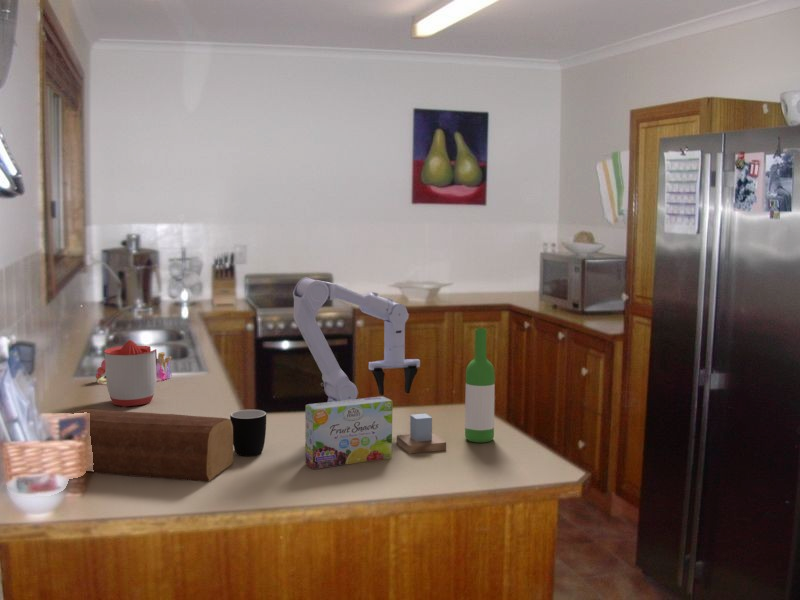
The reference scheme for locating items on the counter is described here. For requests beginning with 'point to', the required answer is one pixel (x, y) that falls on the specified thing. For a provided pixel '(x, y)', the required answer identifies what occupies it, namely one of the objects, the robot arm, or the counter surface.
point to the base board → (421, 444)
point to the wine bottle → (479, 393)
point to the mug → (248, 431)
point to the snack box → (348, 431)
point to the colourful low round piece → (161, 370)
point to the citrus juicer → (131, 374)
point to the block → (421, 427)
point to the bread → (160, 444)
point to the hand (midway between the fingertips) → (394, 393)
